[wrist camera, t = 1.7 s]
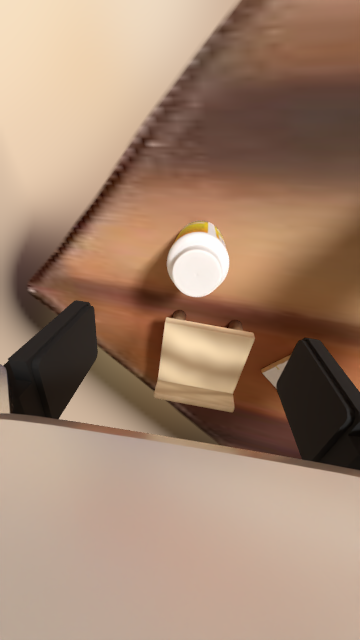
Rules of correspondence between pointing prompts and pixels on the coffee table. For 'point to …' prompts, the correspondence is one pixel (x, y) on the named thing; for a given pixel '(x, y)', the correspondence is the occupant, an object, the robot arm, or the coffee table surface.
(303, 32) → the coffee table surface
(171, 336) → the shelf
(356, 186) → the coffee table surface
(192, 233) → the supplement bottle
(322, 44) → the coffee table surface
